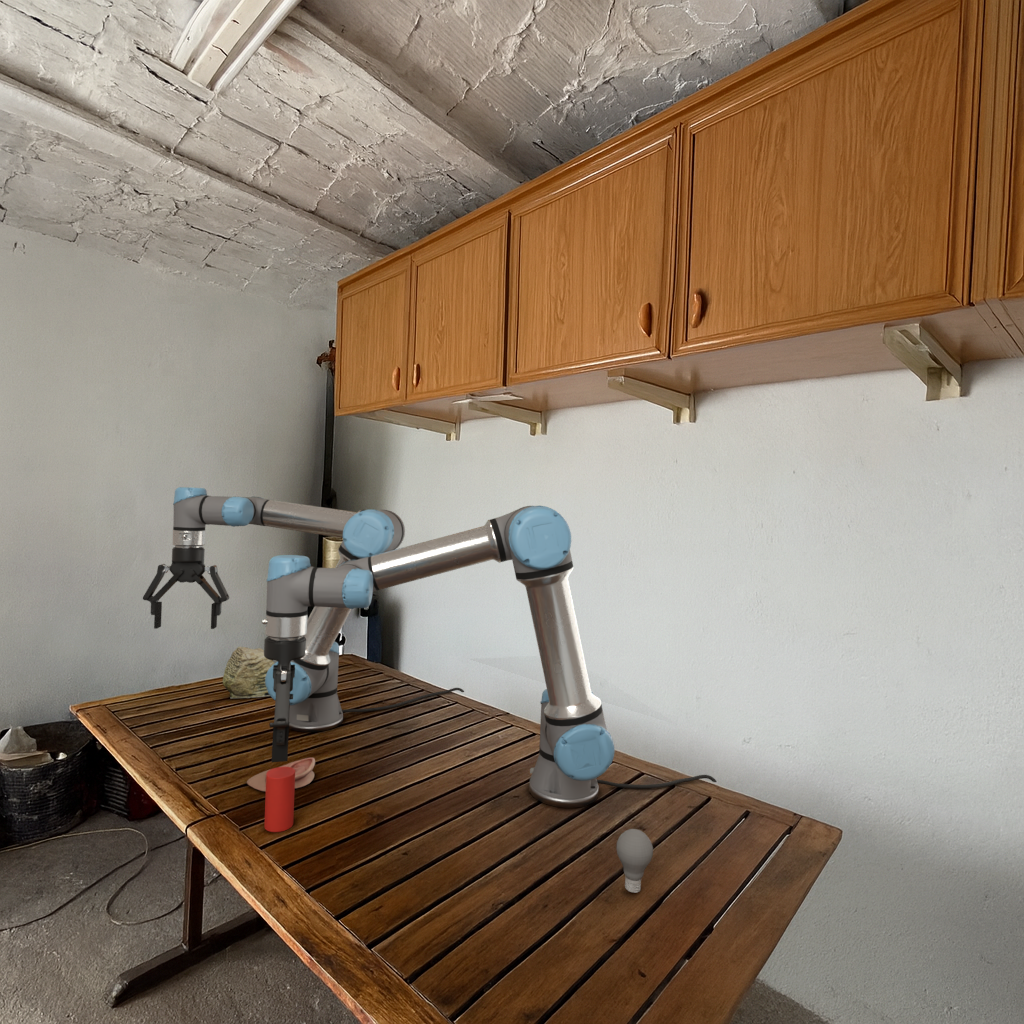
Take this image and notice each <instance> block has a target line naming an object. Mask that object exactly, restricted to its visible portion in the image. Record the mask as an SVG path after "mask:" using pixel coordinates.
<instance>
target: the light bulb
mask: <svg viewBox="0 0 1024 1024" xmlns="http://www.w3.org/2000/svg"><path fill="white" fill-rule="evenodd" d="M615 849H616V854H617V857H618V859H619V861H620V863H621V865H622V867H623V873H624V874H623V875H624V876H625V878H624V888H625V890H627V891H628V892H630V893H634V894H635V893H639V892H640V891H641V889H642V887H641V886H642V879H643V877H644V875H645V871H646V868H647V867H648V866H649V864H650V863H651V861H652V859H653V855H654V847H653V843H652V841H651V838H649V836H648V835H647V834H646V833H645V832H643V831H642V830H641V829H636V828H629V829H627V830H625V831H623V832H622V833H621V834H620V835H619V837H618V839H617V841H616V847H615Z"/></svg>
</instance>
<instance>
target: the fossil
mask: <svg viewBox="0 0 1024 1024" xmlns="http://www.w3.org/2000/svg"><path fill="white" fill-rule="evenodd" d="M274 661H275V660H269V659H267V658H265V657H264V648H260V647H258V648H251V647H247V646H246V647H245V646H238V647H237V648H236V649H235V650H233V651H232V653H231V656H230V657H229V659H228V660H227V663H226V666H225V668H224V671H223V675H222V676H223V677H222V685H223V687H224V688H225V690H226V691H228V693H229V698H230V699H250V698H264V697H271V696H270V695H269V693H268V690H267V688H266V685H265V677H266V674H267V672H268V670H269V668H270V667H271V666H272V665H273V664H274V663H275V662H274Z"/></svg>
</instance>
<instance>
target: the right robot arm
mask: <svg viewBox="0 0 1024 1024" xmlns="http://www.w3.org/2000/svg"><path fill="white" fill-rule="evenodd" d="M571 547H572V532H571V529H570V527H569V524H568V522H567V520H566V519H565V517H563V516H562V515H561V514H560V512H558V511H557V510H555V509H553V508H552V507H548V506H545V505H527V506H522V507H519V508H517V509H514V510H513V511H511V512H508V513H506V514H503V515H501V516H498V517H494V518H491V519H488V520H487V521H486V522H485V523H484V525H482V526H479V527H475V528H471V529H468V530H464V531H459V532H456V533H452V534H447V535H445V536H441V537H437V538H433V539H429V540H426V541H422V542H419V543H415V544H411V545H406V546H404V547H398V548H396V549H395V550H392V551H388V552H384V553H380V554H377V555H373V556H370V557H366V558H362V559H358V560H350V561H347V562H344V563H343V564H341V565H340V566H339V567H337V568H335V567H315V566H312V564H311V559H310V557H308V556H305V555H298V554H281V555H274V556H273V557H271V558H270V560H269V562H268V571H267V578H266V606H265V608H266V609H265V611H266V612H265V618H264V619H262V620H261V624H262V625H265V627H264V629H265V630H264V634H265V636H266V637H265V639H264V642H263V643H264V644H263V650H264V657H265V658H267V659H269V660H273V661H276V662H278V665H274V666H273V679H274V686H273V690H274V692H276V698H275V700H274V701H275V702H274V719H273V722H269V728H270V729H271V728H272V742H271V743H272V745H271V763H280V762H281V763H283V762H288V756H289V737H290V736H289V735H290V729H289V709H290V700H291V699H293V694H290V692H291V691H292V690H293V678H294V677H295V665H291V661H292V660H294V659H295V660H297V659H300V658H302V657H304V656H305V653H306V638H305V637H304V635H306V633H307V620H308V618H309V616H308V615H309V614H308V607H313V608H314V607H315V606H317V607H338V608H349V609H352V610H354V609H366V608H368V607H370V606H371V603H372V599H373V593H374V592H378V591H381V590H384V589H387V588H391V587H395V586H399V585H403V584H407V583H411V582H414V581H418V580H422V579H425V578H429V577H433V576H437V575H440V574H444V573H449V572H453V571H455V570H459V569H463V568H467V567H470V566H475V565H478V564H482V563H487V562H491V561H496V562H497V563H499V564H501V563H503V562H507V561H512V565H513V570H514V574H515V580H516V581H517V582H519V583H520V584H522V585H523V586H524V587H525V590H526V595H527V599H528V605H529V611H530V614H531V619H532V620H531V621H532V624H533V629H534V634H535V638H536V644H537V648H538V653H539V657H540V663H541V667H542V671H543V677H544V681H545V686H546V689H544V690H543V691H542V693H541V699H540V702H539V703H540V725H539V744H538V745H539V746H538V747H539V749H538V757H537V760H536V762H535V765H534V767H530V768H529V774H531V776H530V778H529V787H528V790H529V793H530V795H531V796H532V797H533V798H534V799H536V800H537V801H539V802H541V803H543V804H545V805H548V806H552V807H557V808H565V809H567V808H569V809H573V808H575V809H576V808H581V807H586V806H589V805H591V804H592V803H594V802H595V801H596V800H598V797H599V784H600V785H606V786H610V787H613V788H614V787H615V788H623V789H660V788H666V787H671V786H674V785H679V784H682V783H688V782H694V781H697V780H702V779H707V780H710V781H711V782H712V783H717V780H716V779H715V777H713V776H711V775H709V774H698V775H695V776H689V777H684V778H679V779H675V780H672V781H668V782H661V783H652V784H651V783H650V784H632V783H629V784H628V783H618V782H612V781H608V780H603V779H597V778H599V777H600V776H602V775H603V774H605V773H606V772H607V771H608V769H609V768H610V766H612V763H613V761H614V757H615V751H616V749H615V744H614V743H615V742H614V739H613V737H612V735H611V733H610V732H609V731H608V727H607V724H606V720H605V719H606V718H605V715H604V711H603V709H604V708H603V704H602V700H601V698H599V697H598V696H596V695H595V694H594V692H593V691H592V689H591V683H590V679H589V674H588V670H587V665H586V664H587V663H586V660H585V659H586V658H585V655H584V649H583V645H582V641H581V636H580V630H579V626H578V625H579V624H578V621H577V620H578V619H577V616H576V611H575V606H574V601H573V597H572V591H571V586H570V581H569V576H570V575H571V573H572V572H573V570H574V568H575V567H574V563H573V557H572V553H571Z"/></svg>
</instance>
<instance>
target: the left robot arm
mask: <svg viewBox="0 0 1024 1024" xmlns="http://www.w3.org/2000/svg"><path fill="white" fill-rule="evenodd" d="M172 504H173V526H172V545H173V546H174V547H172V548H171V563H170V565H167V564H165V563H161V564H159V565H158V566H157V571H156V573H155V575H154V578H153V579H152V580H151V582H150V584H149V586H148V588H147V589H146V591H145V593H144V594H143V596H142V600H143V601H147V602H149V603H150V615H151V616H153V617H154V618H153V619H154V621H153V629H154V630H157V629H160V628H161V627H162V609H163V601H160V599H161V598H162V597H164V595H165V594H166V593H167V592H168V591H169V590H170V589H171V588H172V587H173V586H174V585H175V584H176V583H177V582H179V583H181V584H183V583H188V584H189V583H191V584H192V583H197V584H198V585H199V586H200V587H201V589H202V590H203V591H204V592H205V593H206V594H207V595H208V596H209V597H210V599H211V600H212V601H213V603H211V610H210V611H211V612H210V630H215V629H216V628H217V627H218V616H221V615H222V605H223V603H224V602H227V601H228V600H229V599H230V595H229V593H228V591H227V589H226V586H225V585H224V583H223V581H222V579H221V577H220V575H219V572H218V571H219V570H218V566H217V565H216V564H213V565H209V566H206V565H205V548H204V546H205V545H206V525H208V526H209V525H213V526H225V527H226V526H227V527H229V526H230V527H246V526H248V525H253V526H254V525H255V526H261V527H270V528H276V529H282V530H288V531H296V532H302V533H308V534H315V535H323V536H327V537H335V538H339V539H340V538H341V539H342V541H341V543H340V544H339V547H338V548H337V552H338V555H339V559H338V562H337V563H336V565H335V567H334V568H337V567H339V566H340V565H341V564H343V563H344V562H347V561H350V560H358V559H362V558H366V557H370V556H373V555H377V554H380V553H384V552H388V551H392V550H395V549H399V548H400V546H401V544H402V543H403V541H404V539H405V534H406V527H405V524H404V522H403V520H402V518H401V517H400V516H399V515H398V514H397V513H396V512H394V511H391V510H390V509H389V510H388V509H363V508H362V509H359V510H358V511H352V510H345V509H344V510H343V509H337V508H331V507H323V506H317V505H311V504H303V503H295V502H289V501H283V500H275V499H268V498H264V497H260V496H226V495H225V496H224V495H223V496H220V495H219V496H218V495H217V496H215V495H208V493H207V489H206V488H205V487H189V486H188V487H187V486H179V487H177V488H176V489H174V497H173V503H172ZM168 572H170V573H171V574H172V576H171V578H170V579H168V580H167V582H166V583H165V584H164V585H163V586H162V587H161V588H160V589H159V590H158V591H156V590H157V589H158V587H159V586H160V583H161V581H162V580H163V578H164V576H165V575H166V574H167V573H168ZM205 572H207V574H208V575H210V578H211V580H212V582H213V584H214V586H215V589H216V590H217V591H216V590H215V589H214V588H213V587H212V585H211V584H210V583H209V582H208V581H207V579H206V577H204V573H205ZM155 592H156V594H154V593H155ZM352 610H353V609H349V608H338V607H317V606H315V607H313V609H312V611H311V612H310V614H309V616H308V617H307V633H306V635H304V637H305V638H306V653H305V656H304V657H302V658H300V659H297V660H295V659H294V660H292V661H291V665H295V677H294V678H293V690H292V691H291V692H290V694H293V699H291V700H290V709H289V730H291V731H294V732H295V731H296V732H301V733H316V732H325V731H329V730H332V729H335V728H337V727H339V726H340V725H342V723H343V722H344V714H343V713H367V712H375V711H376V712H377V711H383V710H387V709H392V708H396V707H397V708H398V707H400V706H403V705H408V704H410V703H414V702H417V701H419V700H422V699H426V698H429V697H433V696H438V695H443V694H448V693H451V692H455V691H459V692H460V693H465V690H464V689H462V688H460V687H453V688H450V689H446V690H442V691H436V692H431V693H427V694H422V695H419V696H417V697H413V698H411V699H407V700H404V701H402V702H401V701H400V702H398V703H393V704H388V705H385V706H377V707H370V708H349V709H346V708H345V709H342V706H341V702H340V699H339V695H338V682H339V662H340V661H339V660H340V658H339V657H340V645H339V643H338V642H337V641H336V639H337V638H338V636H339V634H340V632H341V630H342V628H343V626H344V625H345V623H346V621H347V619H348V617H349V615H350V614H351V611H352ZM274 665H278V661H276V662H274V664H273V665H272V666H271V667H270V668H269V670H268V672H267V674H266V677H265V685H266V688H267V690H268V693H269V695H270V696H269V697H270V698H271V699H273V700H274V701H275V698H276V692H274V690H273V686H274V679H273V666H274Z"/></svg>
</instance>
